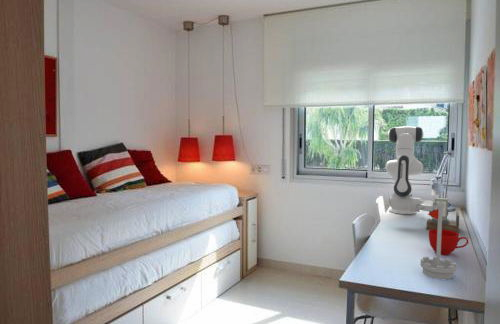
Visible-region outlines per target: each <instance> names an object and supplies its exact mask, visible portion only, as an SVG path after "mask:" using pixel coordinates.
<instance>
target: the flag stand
mask: <svg viewBox="0 0 500 324" xmlns="http://www.w3.org/2000/svg"><path fill="white" fill-rule="evenodd" d="M444 206H445V205H444V203H443V202H438V203H437V208H438V209H437V210H435V211H433V212H431V213H429V212H428V213H427V215H429V217H431V216H432V217H434V218H436V219H438V228H437V253H436V252H435V253H436V256H433V257H432V259H431V258H430V257H429V256H423V257H422V258H420V263H419V265H420V267H421V268H422V273H424V274H425V276H426V275H427V277H428V276H429V277H428V278H431V277H432V279H435V278H437V279H436V280H442V279H447V280H451V278H452V279H453V277H454V274H455V272H456V271H457V263H456V262H453V261H452V259H449V258H444V260H442V259H441V255H442V254H441V233H442V209H443V208H444ZM432 217H431V218H432ZM424 274H423V275H424Z"/></svg>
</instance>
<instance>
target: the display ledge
mask: <svg viewBox="0 0 500 324" xmlns="http://www.w3.org/2000/svg"><path fill="white" fill-rule="evenodd" d="M459 225H460V214H459V211H456V212H455V220H449V224H442V230H449V231H454V232H457V233H458V234H460V233H459V232H460V231H459V230H460V229H459V228H460V226H459ZM437 228H438V223H432V218H427V219H426V230H427V231H429V230H433V229H437Z"/></svg>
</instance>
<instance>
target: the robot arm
mask: <svg viewBox="0 0 500 324" xmlns="http://www.w3.org/2000/svg"><path fill="white" fill-rule="evenodd" d="M423 137H424V131H423V128H422V127H421V126H407V125H406V126H393V127H390V128H389V129H388V132H387V138H388V141H389V142H392V143H393V144H395V143H396V145H395V146H396V147H395V158H396V159H393V160H388V161H387V162H386V163H385V166H384V168H385V171H386V173H387V174H389V176H391V178H392V179H393V182H394V185H393V191H394V192H393V193H392V194H391V196H390V197H389V199H388V200H389V206H390V207H391V209H388V211H389V212H391V213H394V214H399V215H416V214H417V213H420V211H423V212H429V211H433V210H437V209H438V208H437V206H435V202H434V200H429V199H424V198H423V199H422V198H421V197H413V196H412V195H413V194H412V193H413V188H412V183H411V181H410V179H409V176H418V175H419V176H420V175H421V174H422V173H423V172H424V165H423V163H422V162H421V161H420V160H418V159H417V158H416V156H415V143H420V142H421V141H422V140H423V139H424V138H423Z"/></svg>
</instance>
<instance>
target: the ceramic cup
mask: <svg viewBox="0 0 500 324" xmlns="http://www.w3.org/2000/svg"><path fill="white" fill-rule="evenodd" d="M428 239H429V240H428V241H429V242H428V243H429V244H430V247H431V248H432V250H433V251H434V252H435V253H437V229H433V230H428ZM462 239H463V240H466V243H464V244H462V245H459V246H458V244H459V242H460V240H462ZM468 245H469V238H467V237H465V236H461V237H460V233H457V232H454V231H449V230H442V233H441V255H444V256H449V255H451V254H452V253H453V252H454V251H455V250H456V249H460V248H461V249H462V248H465V247H466V246H468Z"/></svg>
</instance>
